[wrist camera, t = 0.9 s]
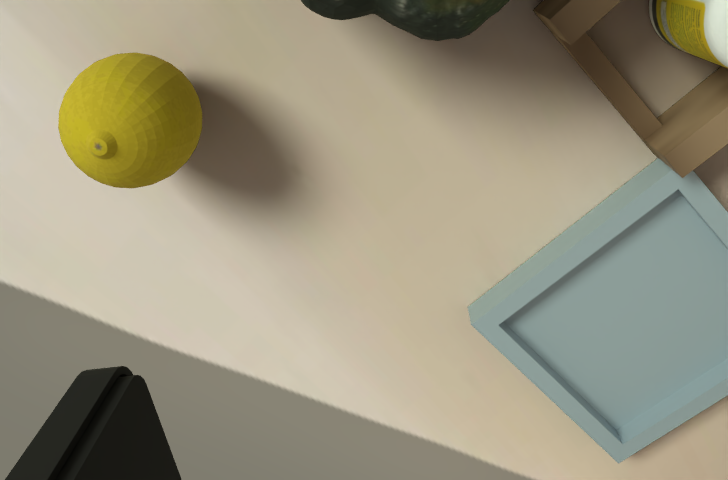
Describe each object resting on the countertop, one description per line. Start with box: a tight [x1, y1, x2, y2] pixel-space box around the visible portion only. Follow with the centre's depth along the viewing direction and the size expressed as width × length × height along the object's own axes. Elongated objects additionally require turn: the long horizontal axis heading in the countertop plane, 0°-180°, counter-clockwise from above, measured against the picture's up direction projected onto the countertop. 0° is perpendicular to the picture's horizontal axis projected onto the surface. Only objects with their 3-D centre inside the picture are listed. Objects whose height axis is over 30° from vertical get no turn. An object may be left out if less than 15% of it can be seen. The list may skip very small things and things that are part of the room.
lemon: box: [58, 53, 202, 188], centre depth 29 cm, size 6×6×8 cm
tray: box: [468, 158, 728, 463], centre depth 36 cm, size 13×13×2 cm
